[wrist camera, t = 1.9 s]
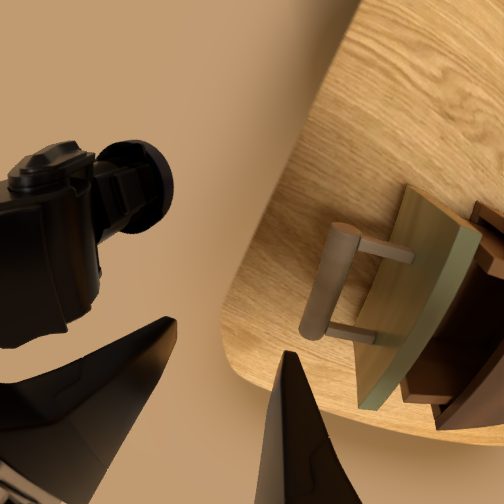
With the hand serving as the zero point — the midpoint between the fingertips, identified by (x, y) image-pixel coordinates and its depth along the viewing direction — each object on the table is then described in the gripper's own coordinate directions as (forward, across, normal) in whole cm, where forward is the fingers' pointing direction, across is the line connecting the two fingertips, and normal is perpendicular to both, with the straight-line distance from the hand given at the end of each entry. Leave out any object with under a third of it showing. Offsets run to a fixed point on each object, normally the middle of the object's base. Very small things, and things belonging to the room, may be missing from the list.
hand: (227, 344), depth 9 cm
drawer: (+9, -11, 0) cm, 14 cm away
